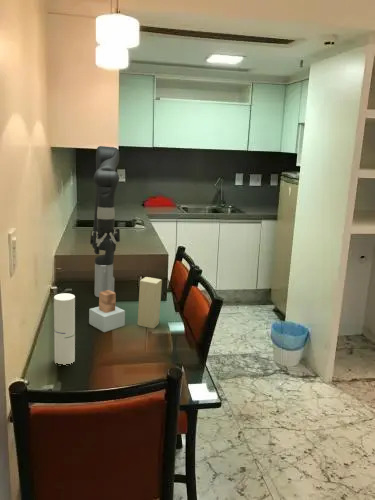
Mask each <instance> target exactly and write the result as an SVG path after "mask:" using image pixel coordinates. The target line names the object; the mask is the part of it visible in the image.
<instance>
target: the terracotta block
mask: <svg viewBox="0 0 375 500" xmlns="http://www.w3.org/2000/svg"><path fill="white" fill-rule="evenodd" d="M98 298H99V299H98V307H99V310H101V311H103V312H105V313H108V312H111V311H115V306H116V303H117V302H116V300H117V298H116V292H115V291H114V292H112V291H110V290H106V291H102V292H99V297H98Z"/></svg>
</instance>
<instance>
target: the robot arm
mask: <svg viewBox="0 0 375 500" xmlns="http://www.w3.org/2000/svg"><path fill="white" fill-rule="evenodd" d="M119 162H120V151H119V148H117V147H114V146H107V145H106V146H102V145H99V146H97V147H96V153H95V172H94V175H93V182H94V185H95V188H94V189H95V191H94V192H95V193H94V215H93V216H94V217H93V227H92V230H91V231H90V238H89V239H90V241H89V242H90V245H92V248H93V250H94V254H95V255H98V256H96V257H95V258H94V296H95V297H96V298H99V292H102V291H106V290H110V291H112V292H114V293H115V277H114V260H115V259H114V257H115V252H116V248H117V247H116V246H117V243H118V242H120V241H121V240H120V239H121V238H120V235H121V234H120V231H121V230H120V229H119V228H117V227H115V214H116V213H115V212H116V211H115V196H116V191H117V188H118V185H119V182H120V175H119V173H118V172H117V171H116V169H117V167H118V165H119ZM100 251H104V254H101V255H100Z"/></svg>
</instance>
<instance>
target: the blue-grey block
mask: <svg viewBox="0 0 375 500" xmlns="http://www.w3.org/2000/svg"><path fill="white" fill-rule="evenodd" d="M88 315H89V316H88V317H89V318H88V324H89V325H90V326H93V327H94V328H95V329H98V330H99V331H101V332H102V333H106V332H109V331H112V330H115V329H119V328H121V327H124V326H125V325H126V323H125V322H126V310H124V309H122V308H120V307H118V306H117V305H115V311H111V312H108V313H105V312H103V311H101V310H99V306H95V307H91V308H89V311H88Z"/></svg>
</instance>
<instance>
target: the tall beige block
mask: <svg viewBox="0 0 375 500" xmlns="http://www.w3.org/2000/svg"><path fill="white" fill-rule="evenodd" d="M162 284H163V280H162V279H160V278H155V277H150V276H149V277H148V276H145V277H143V278H142V279H140V281H139V292H138V307H137V308H138V309H137V310H138V312H137V325H138V326H140V327H143V328H144V327H145V328H148V329H155V328H156V327H157V326H158V325H159V324H160V315H161V298H162V286H163V285H162Z"/></svg>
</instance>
